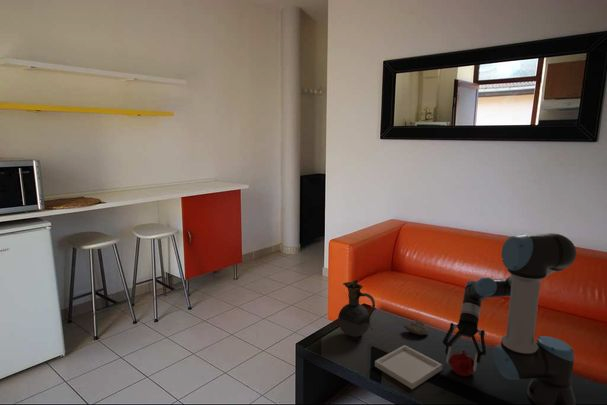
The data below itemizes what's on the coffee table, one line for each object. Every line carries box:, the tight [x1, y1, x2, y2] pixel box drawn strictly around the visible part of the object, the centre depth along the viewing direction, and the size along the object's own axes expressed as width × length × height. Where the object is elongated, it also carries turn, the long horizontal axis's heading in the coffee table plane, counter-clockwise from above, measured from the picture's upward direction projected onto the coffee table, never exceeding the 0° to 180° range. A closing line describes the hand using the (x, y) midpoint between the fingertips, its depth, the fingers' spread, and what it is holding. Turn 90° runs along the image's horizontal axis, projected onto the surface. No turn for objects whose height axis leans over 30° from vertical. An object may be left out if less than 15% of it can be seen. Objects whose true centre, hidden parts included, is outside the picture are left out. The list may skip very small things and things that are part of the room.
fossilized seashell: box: [403, 320, 429, 336], centre depth 195 cm, size 11×11×7 cm
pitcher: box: [337, 279, 376, 341], centre depth 190 cm, size 11×19×30 cm, turn 53°
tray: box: [374, 344, 443, 390], centre depth 167 cm, size 20×20×2 cm
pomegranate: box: [449, 350, 475, 377], centre depth 162 cm, size 10×10×9 cm
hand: (460, 366), depth 160 cm, fingers closed on pomegranate, 10 cm apart
